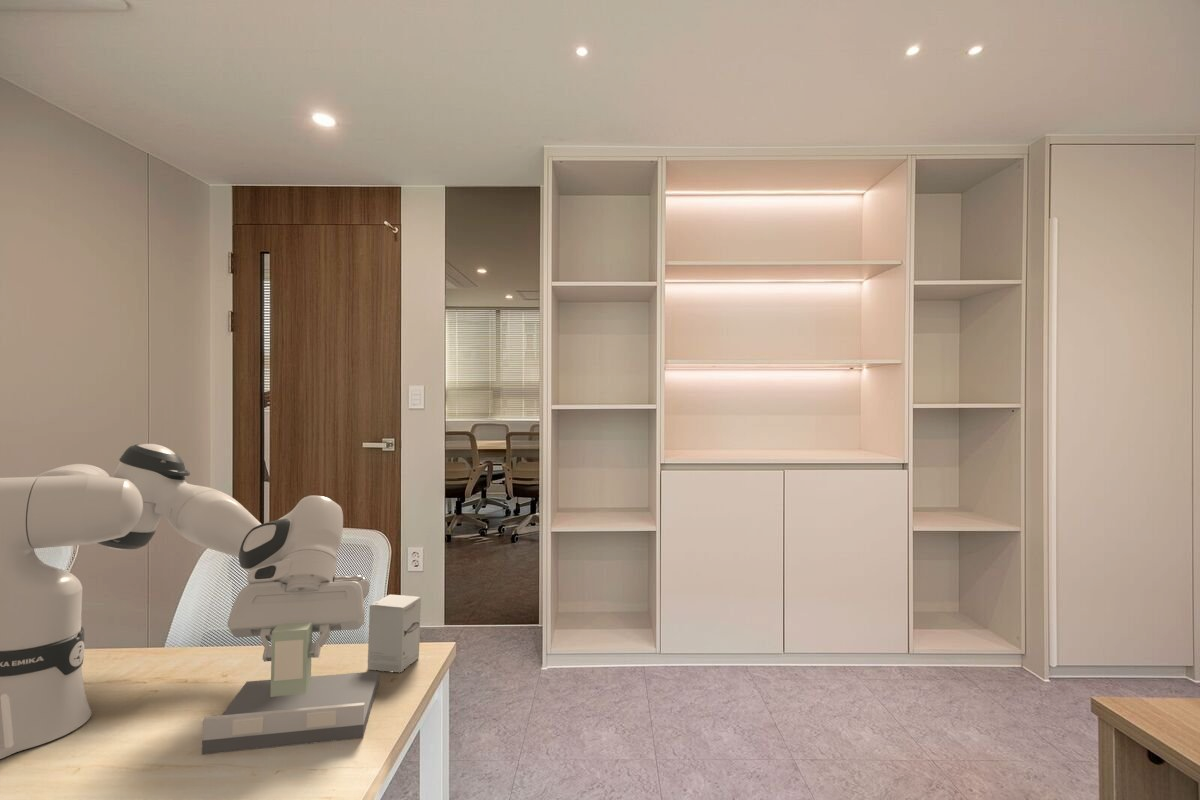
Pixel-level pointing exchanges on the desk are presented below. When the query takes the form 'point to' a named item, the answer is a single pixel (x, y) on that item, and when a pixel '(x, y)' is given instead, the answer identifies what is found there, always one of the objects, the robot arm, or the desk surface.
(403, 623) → the supplement box
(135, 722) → the desk surface
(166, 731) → the desk surface
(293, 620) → the robot arm
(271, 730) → the shelf board
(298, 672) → the sage carton
